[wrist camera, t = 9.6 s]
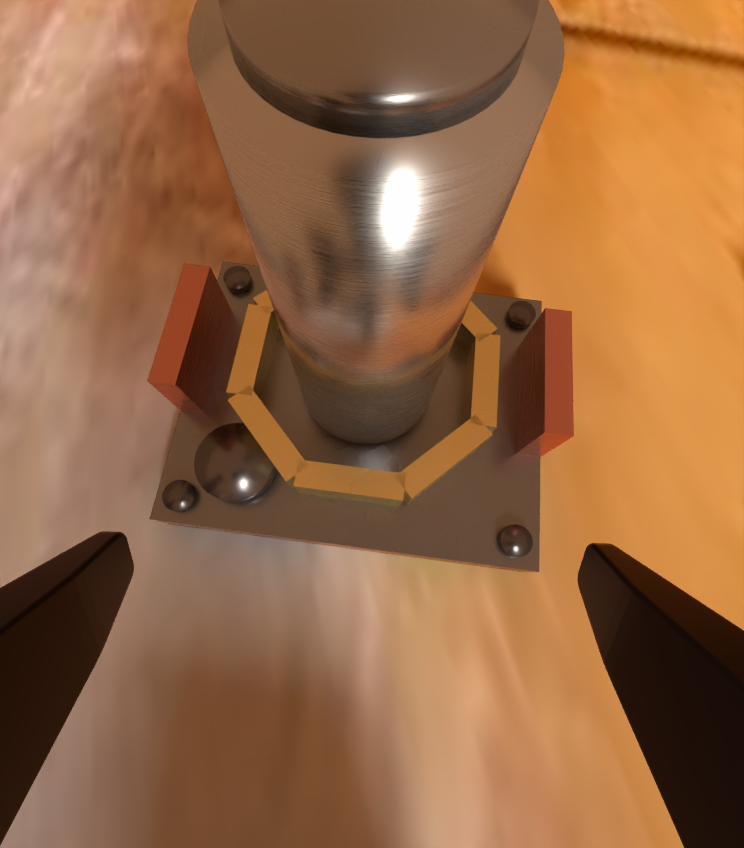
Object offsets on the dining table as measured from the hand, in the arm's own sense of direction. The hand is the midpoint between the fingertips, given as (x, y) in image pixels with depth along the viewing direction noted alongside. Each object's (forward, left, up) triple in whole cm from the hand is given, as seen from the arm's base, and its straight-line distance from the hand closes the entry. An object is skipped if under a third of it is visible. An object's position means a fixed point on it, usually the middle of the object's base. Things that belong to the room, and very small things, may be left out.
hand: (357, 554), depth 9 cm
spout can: (+9, +1, -8) cm, 12 cm away
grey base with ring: (+7, +1, -10) cm, 12 cm away
